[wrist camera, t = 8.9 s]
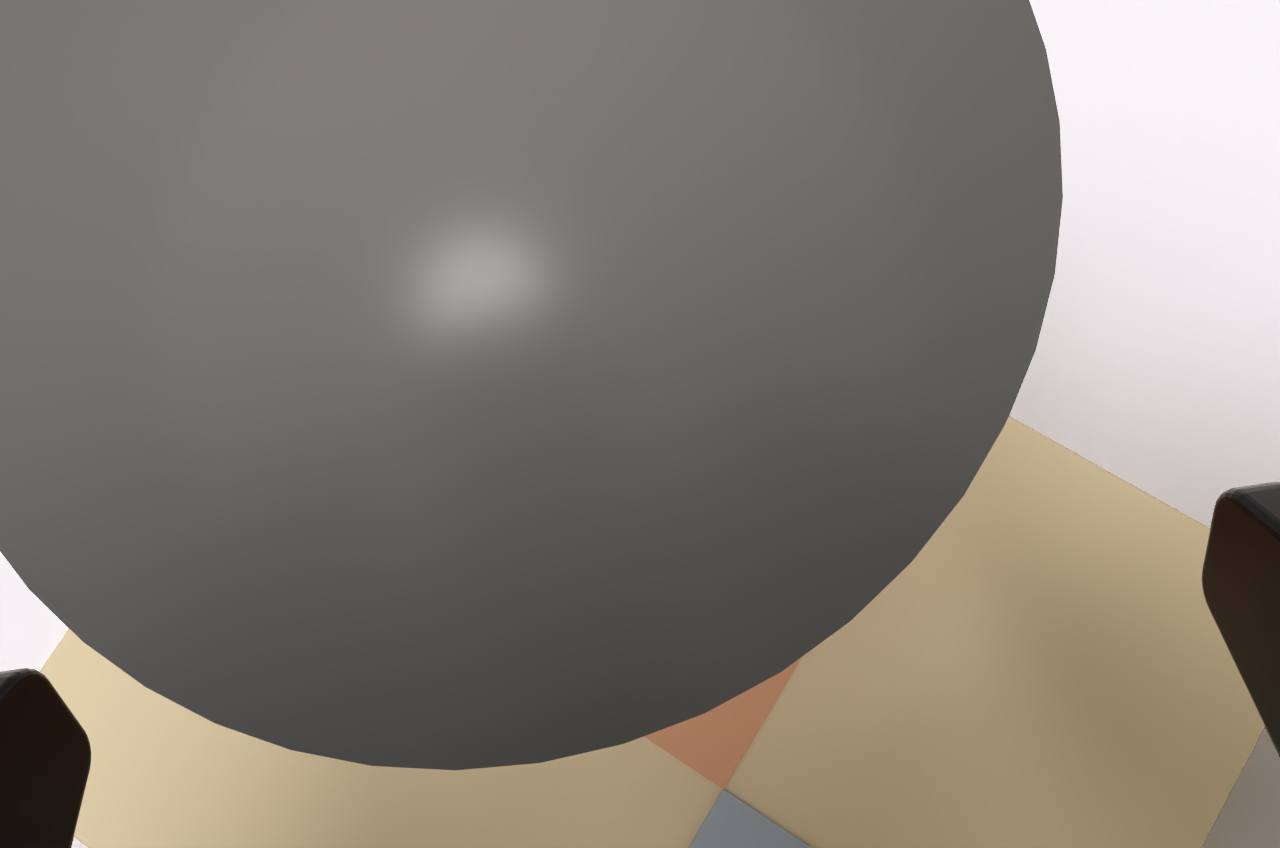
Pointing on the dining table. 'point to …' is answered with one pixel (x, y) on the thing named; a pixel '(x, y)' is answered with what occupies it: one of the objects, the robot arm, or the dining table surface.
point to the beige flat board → (802, 716)
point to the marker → (502, 344)
